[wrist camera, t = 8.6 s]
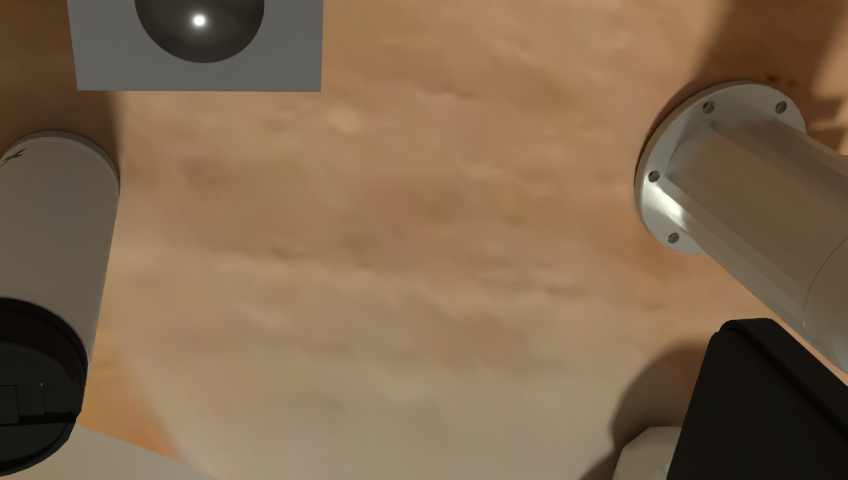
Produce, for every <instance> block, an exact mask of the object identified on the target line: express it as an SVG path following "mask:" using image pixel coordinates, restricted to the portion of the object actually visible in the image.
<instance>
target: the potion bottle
mask: <svg viewBox="0 0 848 480" xmlns="http://www.w3.org/2000/svg"><path fill="white" fill-rule="evenodd" d="M681 429H682V428H681V427H676V426H672V425H670V426H658V427H649V428H648V429H646V430H645V431H644V432H642V433H641V434H640V435H639V436H637V437H636V438H635V439H634V440H632V441H631V442H630V443H628V444H627V445H626V446H625V447H623V450H622V452H621V455H620V457H619V460H618V462H617V465H616V467H615V471H614V475H613V479H612V480H666V478H667V473H668V470H669V467H670V464H671V461H672V457H673V454H674V451H675V448H676V445H677V442H678V439H679V435H680V432H681Z"/></svg>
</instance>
